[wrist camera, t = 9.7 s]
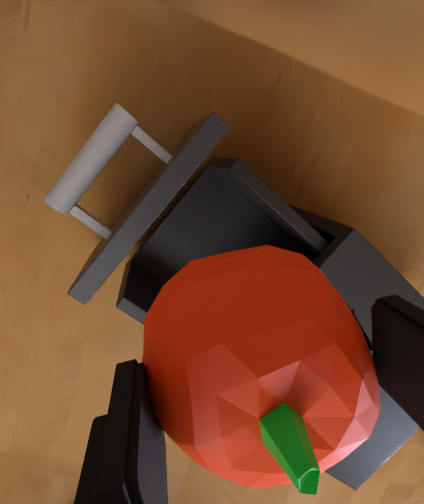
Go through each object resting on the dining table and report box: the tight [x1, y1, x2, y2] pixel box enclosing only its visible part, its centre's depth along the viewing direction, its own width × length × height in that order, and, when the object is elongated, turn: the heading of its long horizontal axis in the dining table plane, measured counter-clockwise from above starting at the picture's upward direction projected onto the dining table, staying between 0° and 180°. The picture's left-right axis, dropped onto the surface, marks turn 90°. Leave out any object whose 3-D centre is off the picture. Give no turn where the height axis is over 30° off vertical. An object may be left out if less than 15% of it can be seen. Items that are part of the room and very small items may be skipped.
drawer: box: [44, 103, 329, 324], centre depth 23 cm, size 19×13×8 cm, turn 49°
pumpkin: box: [142, 245, 380, 495], centre depth 10 cm, size 7×8×6 cm
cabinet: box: [288, 204, 424, 490], centre depth 27 cm, size 16×14×10 cm
